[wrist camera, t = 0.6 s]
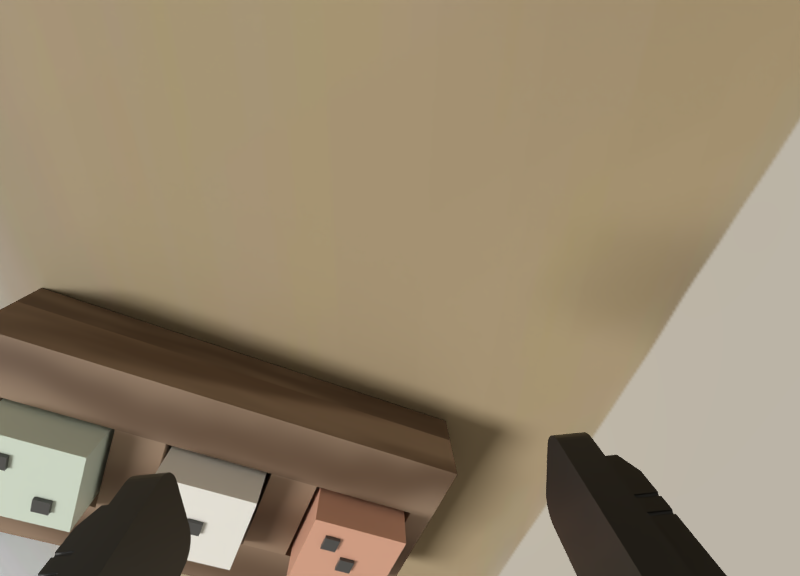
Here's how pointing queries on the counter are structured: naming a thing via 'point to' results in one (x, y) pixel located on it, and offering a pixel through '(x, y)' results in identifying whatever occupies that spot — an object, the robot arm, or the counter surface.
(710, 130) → the counter surface
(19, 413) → the two dot button
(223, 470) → the one dot button
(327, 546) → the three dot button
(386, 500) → the console
